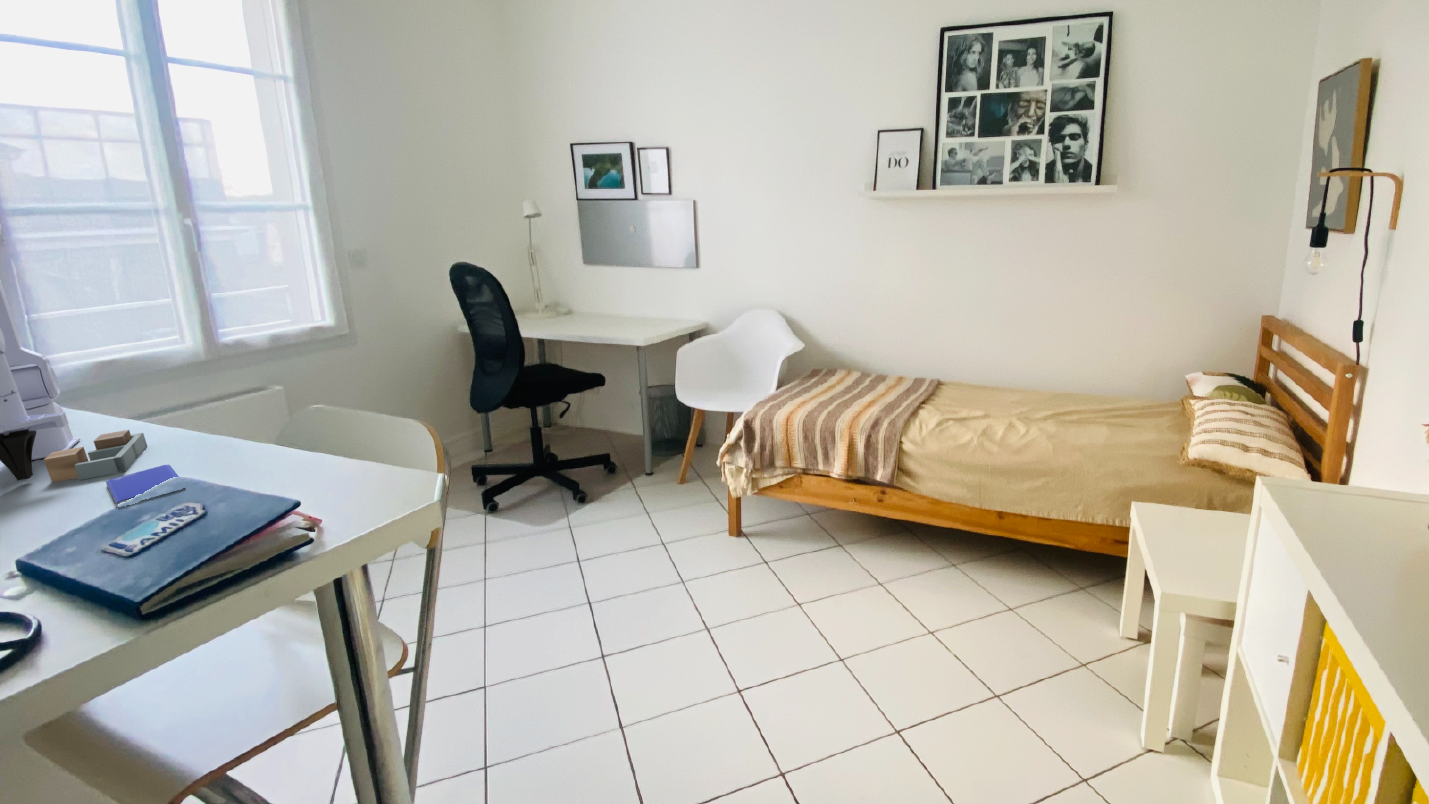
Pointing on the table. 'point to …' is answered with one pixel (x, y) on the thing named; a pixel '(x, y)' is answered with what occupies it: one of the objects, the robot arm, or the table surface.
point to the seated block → (112, 439)
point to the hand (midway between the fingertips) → (25, 477)
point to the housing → (111, 458)
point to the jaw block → (64, 463)
